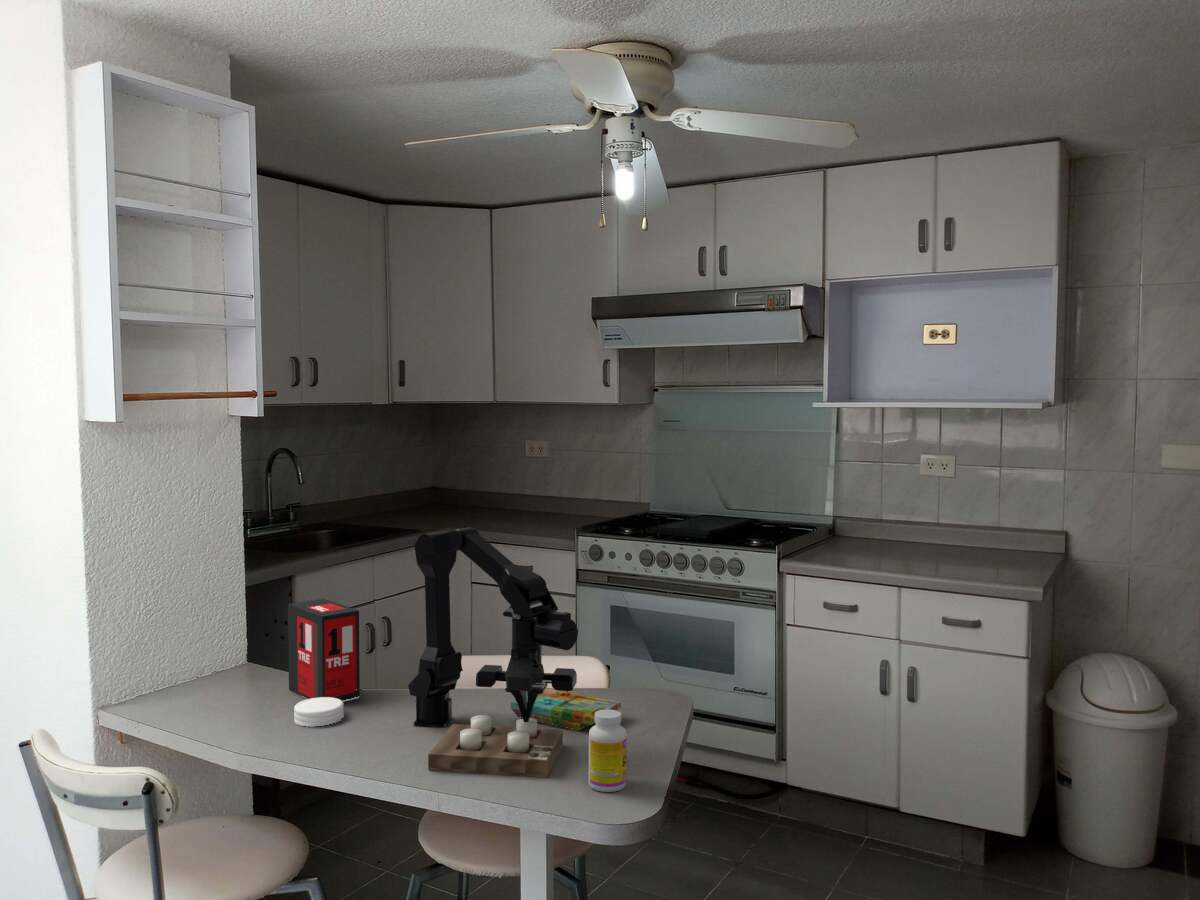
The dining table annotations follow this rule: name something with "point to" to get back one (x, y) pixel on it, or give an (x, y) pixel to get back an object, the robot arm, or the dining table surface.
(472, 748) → the outer button
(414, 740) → the dining table surface
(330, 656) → the cleaning product box
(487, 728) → the inner button
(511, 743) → the outer button
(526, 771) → the button board
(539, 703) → the puzzle game
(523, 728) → the inner button
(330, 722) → the white short cylinder
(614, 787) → the supplement bottle
